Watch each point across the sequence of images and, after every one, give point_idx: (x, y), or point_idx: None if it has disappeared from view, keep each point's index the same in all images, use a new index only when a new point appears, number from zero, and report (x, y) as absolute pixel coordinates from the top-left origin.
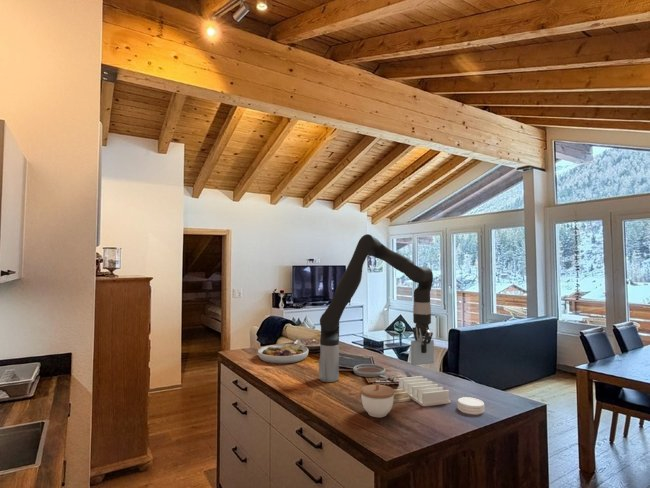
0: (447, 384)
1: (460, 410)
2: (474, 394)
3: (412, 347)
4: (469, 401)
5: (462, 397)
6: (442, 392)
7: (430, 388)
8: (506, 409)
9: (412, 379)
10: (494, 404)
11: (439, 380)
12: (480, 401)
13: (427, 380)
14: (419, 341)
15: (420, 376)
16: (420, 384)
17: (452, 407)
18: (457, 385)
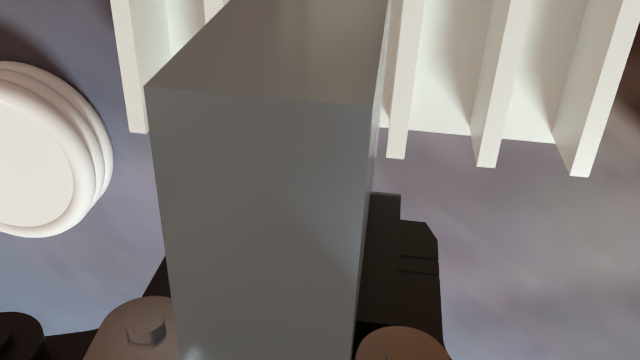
0: (501, 314)
1: (4, 61)
2: None
3: (286, 9)
4: (5, 161)
5: (80, 169)
6: (124, 65)
7: (213, 12)
8: (24, 303)
9: (599, 45)
10: (98, 304)
11: (605, 324)
12: (2, 221)
13: (476, 155)
14: (176, 324)
15: (580, 150)
16: (401, 17)
17: (81, 54)
18: (450, 349)
